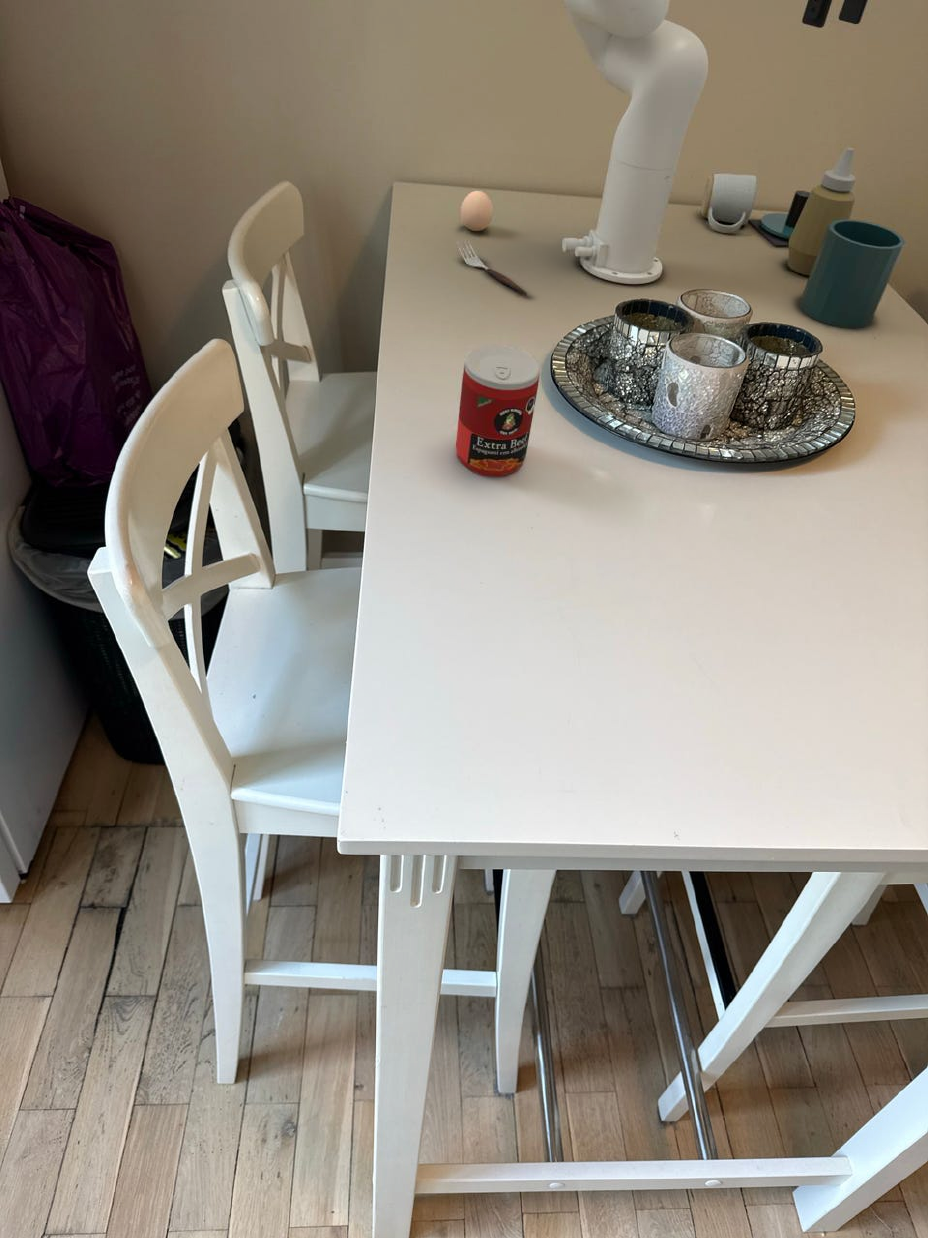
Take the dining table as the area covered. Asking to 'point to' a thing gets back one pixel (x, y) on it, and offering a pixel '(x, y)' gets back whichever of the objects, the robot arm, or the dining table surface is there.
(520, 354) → the canned food
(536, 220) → the dining table surface
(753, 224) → the mat
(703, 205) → the ceramic mug
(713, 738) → the dining table surface
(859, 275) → the tin
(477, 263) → the fork
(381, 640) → the dining table surface
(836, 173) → the squeeze bottle
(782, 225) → the tin lid
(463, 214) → the egg
